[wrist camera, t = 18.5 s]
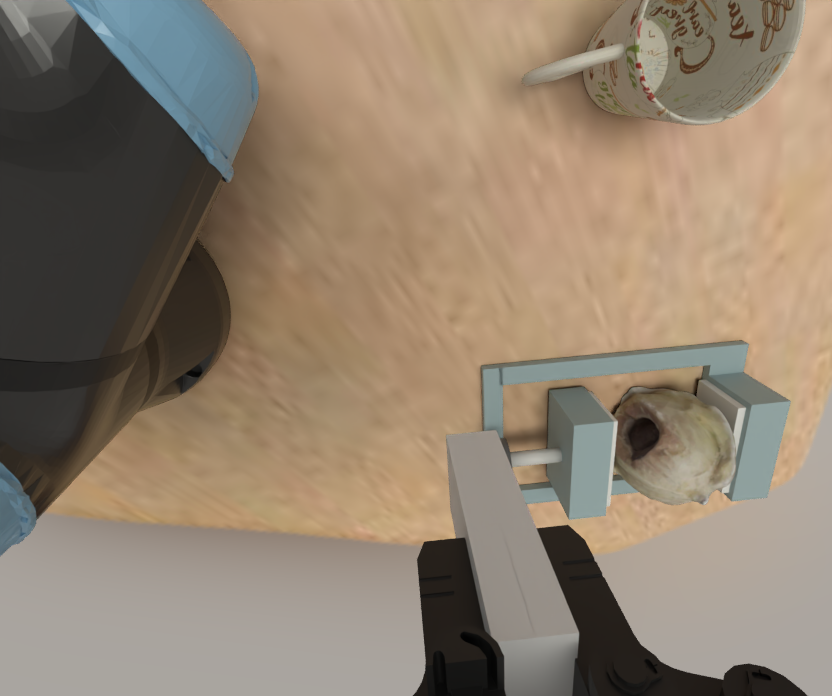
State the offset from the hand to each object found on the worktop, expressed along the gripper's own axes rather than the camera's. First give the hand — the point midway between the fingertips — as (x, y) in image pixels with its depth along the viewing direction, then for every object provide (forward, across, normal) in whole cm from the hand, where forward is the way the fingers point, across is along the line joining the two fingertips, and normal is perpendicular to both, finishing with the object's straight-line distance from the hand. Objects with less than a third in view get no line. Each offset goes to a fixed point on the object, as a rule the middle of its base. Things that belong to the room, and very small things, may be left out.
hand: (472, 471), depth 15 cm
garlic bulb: (+25, +19, -15) cm, 34 cm away
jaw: (+24, +9, -15) cm, 30 cm away
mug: (+25, +13, +13) cm, 31 cm away
